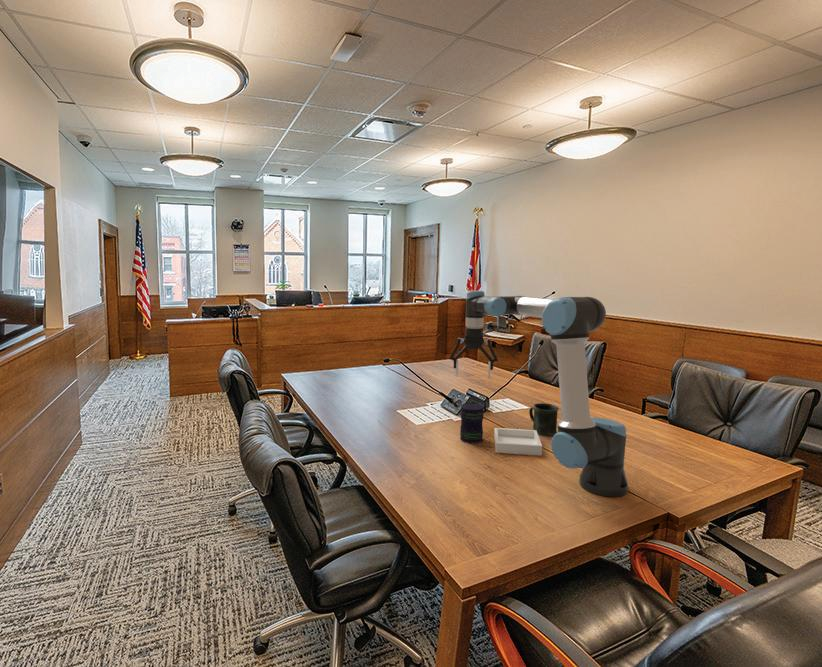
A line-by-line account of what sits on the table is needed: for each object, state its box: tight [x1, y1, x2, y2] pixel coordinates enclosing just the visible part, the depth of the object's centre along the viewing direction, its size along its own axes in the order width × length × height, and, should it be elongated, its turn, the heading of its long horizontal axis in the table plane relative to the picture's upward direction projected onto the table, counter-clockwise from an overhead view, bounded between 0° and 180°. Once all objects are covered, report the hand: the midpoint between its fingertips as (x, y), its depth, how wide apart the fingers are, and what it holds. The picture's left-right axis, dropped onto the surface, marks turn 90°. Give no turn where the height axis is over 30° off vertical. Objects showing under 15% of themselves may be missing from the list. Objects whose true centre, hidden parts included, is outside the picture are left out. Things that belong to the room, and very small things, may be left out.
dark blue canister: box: [459, 402, 484, 444], centre depth 189 cm, size 10×10×15 cm
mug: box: [528, 402, 560, 436], centre depth 200 cm, size 11×15×12 cm
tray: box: [493, 427, 543, 456], centre depth 183 cm, size 18×18×4 cm
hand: (472, 376), depth 187 cm, fingers open, 13 cm apart
